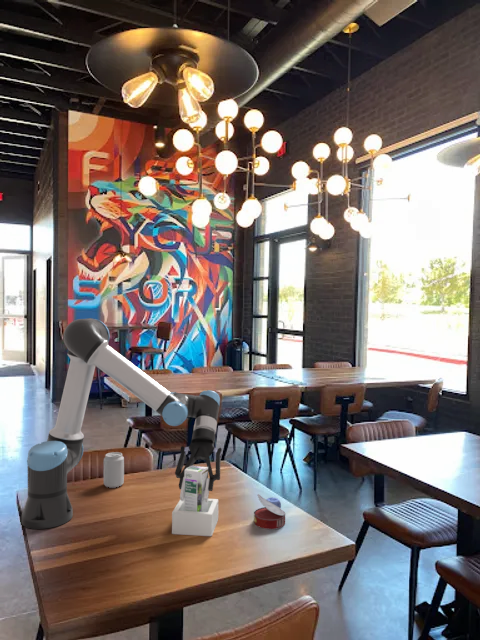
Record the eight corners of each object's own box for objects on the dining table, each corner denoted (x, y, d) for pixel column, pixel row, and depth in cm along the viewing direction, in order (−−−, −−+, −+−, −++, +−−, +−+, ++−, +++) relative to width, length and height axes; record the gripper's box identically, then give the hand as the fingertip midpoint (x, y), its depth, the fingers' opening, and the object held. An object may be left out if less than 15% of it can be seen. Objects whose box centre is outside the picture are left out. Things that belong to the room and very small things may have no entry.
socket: (211, 536, 145) (211, 514, 145) (172, 533, 146) (172, 512, 146) (218, 519, 157) (218, 499, 157) (181, 517, 158) (181, 497, 158)
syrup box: (183, 516, 150) (183, 469, 150) (192, 509, 155) (192, 464, 155) (200, 519, 148) (200, 471, 148) (208, 512, 153) (208, 466, 153)
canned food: (262, 530, 160) (267, 498, 164) (289, 535, 154) (294, 502, 158) (243, 524, 152) (249, 491, 156) (271, 529, 146) (276, 494, 150)
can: (112, 490, 182) (112, 458, 182) (99, 485, 186) (99, 454, 186) (128, 484, 188) (128, 453, 188) (115, 480, 192) (115, 450, 192)
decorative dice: (273, 514, 161) (273, 502, 161) (264, 511, 163) (264, 499, 163) (281, 511, 164) (281, 499, 164) (271, 508, 166) (271, 496, 166)
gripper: (234, 439, 165) (227, 506, 149) (177, 437, 168) (164, 503, 152) (232, 427, 160) (224, 496, 144) (173, 425, 162) (159, 492, 146)
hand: (193, 499), depth 148 cm, fingers closed on syrup box, 7 cm apart
